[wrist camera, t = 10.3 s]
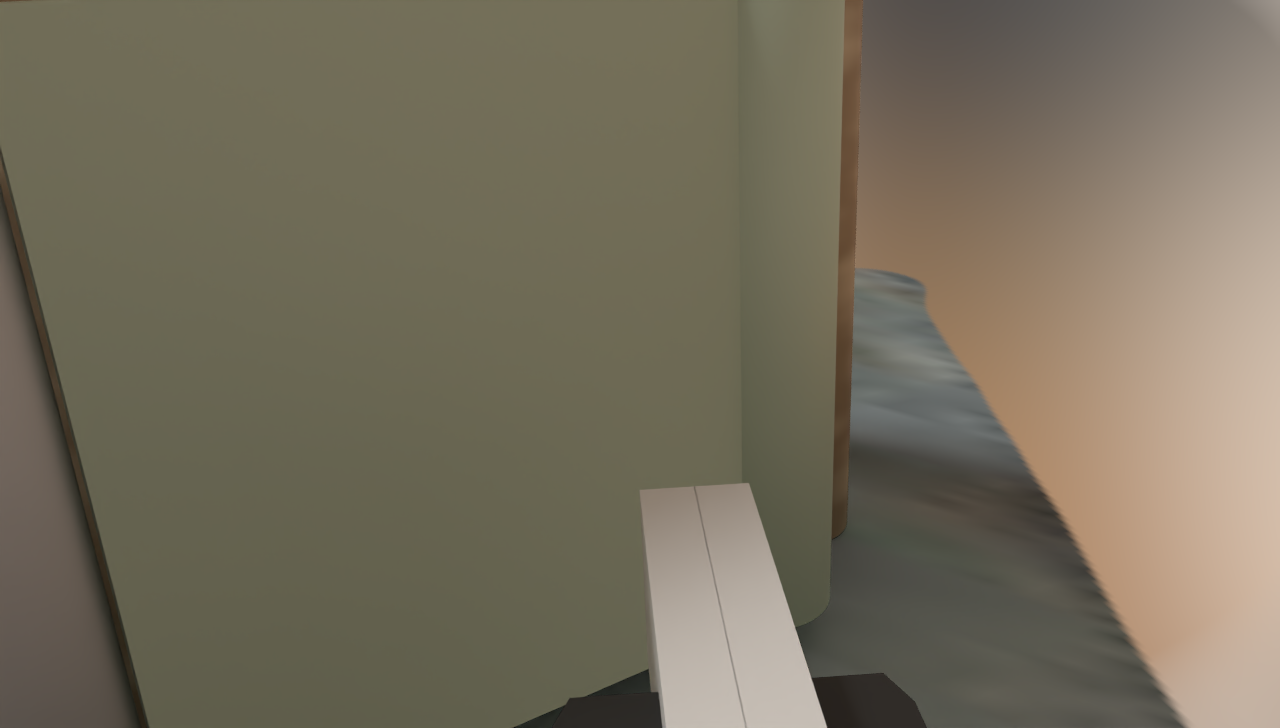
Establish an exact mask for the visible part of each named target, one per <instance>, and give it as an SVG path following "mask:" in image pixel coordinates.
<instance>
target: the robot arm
mask: <svg viewBox="0 0 1280 728" xmlns="http://www.w3.org/2000/svg"><path fill="white" fill-rule="evenodd" d="M639 491H640V511H641V532H642V552H643V573H644V593H645V614H646V634H647V655H648V666H649V677H650V687H651V692H647V693H633V694H619V695H604V696H590V697H576V698H569V700H568V701H567V703H566V705H565V706H564V708H563V710H562V711H561V713H560V715H559V716H558V718H557V720H556V721H555V723H554V725H553V726H552V728H926V726H925V723H924V721H923V719H922V717H921V714H920V712H919V710H918V708H917V705H916V703H915V701H913V700H912V699H911V698H910V697H909V696H908V695H907V694H906V693H905V692H904V691H902V690H901V689H900V688H899V687H898V686H897V685H896V684H895V683H894V682H892V681H891V680H890V679H889V678H888V677H887V676H886V675H885V674H884V673H876V674H862V675H848V676H833V677H819V678H811V676H810V672H809V669H808V666H807V663H806V660H805V657H804V654H803V651H802V647H801V644H800V641H799V638H798V635H797V632H796V629H795V626H794V622H793V619H792V616H791V613H790V610H789V607H788V604H787V601H786V597H785V594H784V591H783V588H782V585H781V582H780V579H779V575H778V572H777V569H776V566H775V563H774V560H773V557H772V554H771V550H770V547H769V544H768V541H767V538H766V535H765V532H764V529H763V525H762V522H761V519H760V516H759V513H758V510H757V507H756V504H755V500H754V497H753V494H752V491H751V488H750V485H749V483H740V484H724V485H708V486H693V487H677V488H661V489H645V490H639Z"/></svg>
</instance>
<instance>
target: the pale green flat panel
mask: <svg viewBox="0 0 1280 728" xmlns="http://www.w3.org/2000/svg"><path fill="white" fill-rule="evenodd" d="M844 14H845V0H29V1H11V2H0V158H1V162H2V166H3V170H4V174H5V178H6V182H7V185H8V189H9V193H10V197H11V201H12V205H13V209H14V213H15V217H16V220H17V224H18V228H19V232H20V236H21V240H22V244H23V248H24V252H25V255H26V259H27V263H28V267H29V271H30V275H31V279H32V283H33V286H34V290H35V294H36V298H37V302H38V306H39V310H40V314H41V318H42V321H43V325H44V329H45V333H46V337H47V341H48V345H49V349H50V353H51V356H52V360H53V364H54V368H55V372H56V376H57V380H58V384H59V388H60V391H61V395H62V399H63V403H64V407H65V411H66V415H67V419H68V423H69V426H70V430H71V434H72V438H73V442H74V446H75V450H76V454H77V458H78V461H79V465H80V469H81V473H82V477H83V481H84V485H85V489H86V493H87V496H88V500H89V504H90V508H91V512H92V516H93V520H94V524H95V528H96V531H97V535H98V539H99V543H100V547H101V551H102V555H103V559H104V562H105V566H106V570H107V574H108V578H109V582H110V586H111V590H112V594H113V597H114V601H115V605H116V609H117V613H118V617H119V621H120V625H121V629H122V632H123V636H124V640H125V644H126V648H127V652H128V656H129V660H130V664H131V667H132V671H133V675H134V679H135V683H136V687H137V691H138V695H139V699H140V702H141V706H142V710H143V714H144V718H145V722H146V726H147V728H513V727H515V726H518V725H520V724H522V723H525V722H527V721H529V720H532V719H534V718H536V717H538V716H541V715H543V714H545V713H548V712H550V711H552V710H555V709H557V708H559V707H562V706H564V705H566V703H567V701H568V700H569V698H576V697H585V696H587V695H589V694H592V693H594V692H596V691H598V690H601V689H603V688H605V687H608V686H610V685H612V684H615V683H617V682H619V681H622V680H624V679H626V678H628V677H631V676H633V675H635V674H638V673H640V672H642V671H645V670H647V669H649V666H648V655H647V634H646V614H645V593H644V573H643V552H642V532H641V511H640V491H639V490H645V489H661V488H677V487H693V486H708V485H724V484H740V483H749V485H750V488H751V491H752V494H753V497H754V500H755V504H756V507H757V510H758V513H759V516H760V519H761V522H762V525H763V529H764V532H765V535H766V538H767V541H768V544H769V547H770V550H771V554H772V557H773V560H774V563H775V566H776V569H777V572H778V575H779V579H780V582H781V585H782V588H783V591H784V594H785V597H786V601H787V604H788V607H789V610H790V613H791V616H792V619H793V622H794V626H795V627H798V626H801V625H804V624H806V623H809V622H810V621H812V620H814V619H816V618H817V617H819V616H820V615H821V614H822V613H823V612H824V611H825V609H826V608H827V606H828V604H829V600H830V576H831V536H832V496H833V456H834V416H835V375H836V335H837V295H838V255H839V215H840V175H841V134H842V94H843V54H844ZM0 728H141V725H140V721H139V717H138V713H137V709H136V706H135V702H134V698H133V694H132V690H131V686H130V682H129V679H128V675H127V671H126V667H125V663H124V659H123V655H122V652H121V648H120V644H119V640H118V636H117V632H116V628H115V625H114V621H113V617H112V613H111V609H110V605H109V602H108V598H107V594H106V590H105V586H104V582H103V578H102V575H101V571H100V567H99V563H98V559H97V555H96V551H95V548H94V544H93V540H92V536H91V532H90V528H89V525H88V521H87V517H86V513H85V509H84V505H83V501H82V498H81V494H80V490H79V486H78V482H77V478H76V474H75V471H74V467H73V463H72V459H71V455H70V451H69V447H68V444H67V440H66V436H65V432H64V428H63V424H62V421H61V417H60V413H59V409H58V405H57V401H56V397H55V394H54V390H53V386H52V382H51V378H50V374H49V370H48V367H47V363H46V359H45V355H44V351H43V347H42V343H41V340H40V336H39V332H38V328H37V324H36V320H35V317H34V313H33V309H32V305H31V301H30V297H29V293H28V290H27V286H26V282H25V278H24V274H23V270H22V266H21V263H20V259H19V255H18V251H17V247H16V243H15V239H14V236H13V232H12V228H11V224H10V220H9V216H8V213H7V209H6V205H5V201H4V197H3V193H2V189H1V186H0Z"/></svg>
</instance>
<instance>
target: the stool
mask: <svg viewBox="0 0 1280 728" xmlns="http://www.w3.org/2000/svg"><path fill="white" fill-rule="evenodd" d="M11 1H29V0H0V2H11ZM862 14H863V0H845V14H844V54H843V94H842V134H841V175H840V215H839V255H838V295H837V335H836V375H835V416H834V456H833V496H832V536H831V539H833V538H835V537H837V536H838V535H840V534H841V533H842V532H843V531H844V529H845V527H846V525H847V506H848V473H849V441H850V408H851V376H852V343H853V311H854V278H855V245H856V213H857V179H858V147H859V114H860V111H859V110H860V82H861V49H862V16H863V15H862ZM0 186H1V189H2V193H3V197H4V201H5V205H6V209H7V213H8V216H9V220H10V224H11V228H12V232H13V236H14V239H15V243H16V247H17V251H18V255H19V259H20V263H21V266H22V270H23V274H24V278H25V282H26V286H27V290H28V293H29V297H30V301H31V305H32V309H33V313H34V317H35V320H36V324H37V328H38V332H39V336H40V340H41V343H42V347H43V351H44V355H45V359H46V363H47V367H48V370H49V374H50V378H51V382H52V386H53V390H54V394H55V397H56V401H57V405H58V409H59V413H60V417H61V421H62V424H63V428H64V432H65V436H66V440H67V444H68V447H69V451H70V455H71V459H72V463H73V467H74V471H75V474H76V478H77V482H78V486H79V490H80V494H81V498H82V501H83V505H84V509H85V513H86V517H87V521H88V525H89V528H90V532H91V536H92V540H93V544H94V548H95V551H96V555H97V559H98V563H99V567H100V571H101V575H102V578H103V582H104V586H105V590H106V594H107V598H108V602H109V605H110V609H111V613H112V617H113V621H114V625H115V628H116V632H117V636H118V640H119V644H120V648H121V652H122V655H123V659H124V663H125V667H126V671H127V675H128V679H129V682H130V686H131V690H132V694H133V698H134V702H135V706H136V709H137V713H138V717H139V721H140V725H141V728H147V726H146V722H145V718H144V714H143V710H142V706H141V702H140V699H139V695H138V691H137V687H136V683H135V679H134V675H133V671H132V667H131V664H130V660H129V656H128V652H127V648H126V644H125V640H124V636H123V632H122V629H121V625H120V621H119V617H118V613H117V609H116V605H115V601H114V597H113V594H112V590H111V586H110V582H109V578H108V574H107V570H106V566H105V562H104V559H103V555H102V551H101V547H100V543H99V539H98V535H97V531H96V528H95V524H94V520H93V516H92V512H91V508H90V504H89V500H88V496H87V493H86V489H85V485H84V481H83V477H82V473H81V469H80V465H79V461H78V458H77V454H76V450H75V446H74V442H73V438H72V434H71V430H70V426H69V423H68V419H67V415H66V411H65V407H64V403H63V399H62V395H61V391H60V388H59V384H58V380H57V376H56V372H55V368H54V364H53V360H52V356H51V353H50V349H49V345H48V341H47V337H46V333H45V329H44V325H43V321H42V318H41V314H40V310H39V306H38V302H37V298H36V294H35V290H34V286H33V283H32V279H31V275H30V271H29V267H28V263H27V259H26V255H25V252H24V248H23V244H22V240H21V236H20V232H19V228H18V224H17V220H16V217H15V213H14V209H13V205H12V201H11V197H10V193H9V189H8V185H7V182H6V178H5V174H4V170H3V166H2V162H1V158H0Z"/></svg>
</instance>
